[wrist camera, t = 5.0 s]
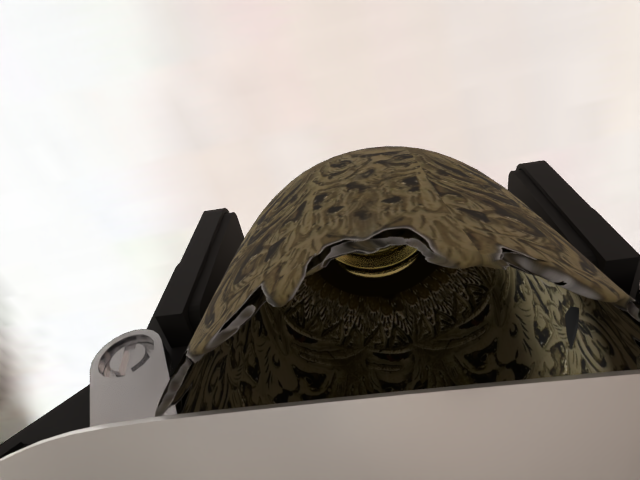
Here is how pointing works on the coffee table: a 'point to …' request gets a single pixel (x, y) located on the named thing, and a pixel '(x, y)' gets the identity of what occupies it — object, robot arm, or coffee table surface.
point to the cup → (398, 291)
